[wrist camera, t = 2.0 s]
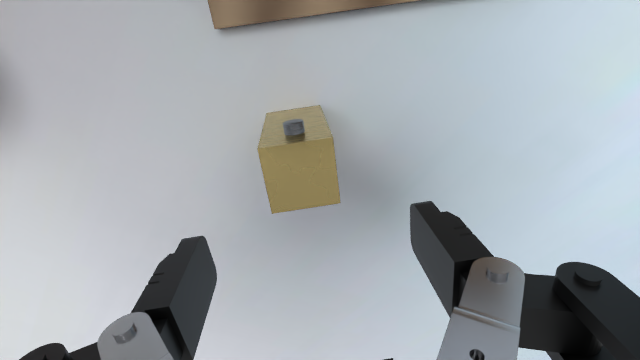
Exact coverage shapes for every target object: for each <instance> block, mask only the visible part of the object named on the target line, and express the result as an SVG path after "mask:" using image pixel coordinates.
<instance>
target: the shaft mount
mask: <svg viewBox="0 0 640 360" xmlns="http://www.w3.org/2000/svg"><path fill="white" fill-rule="evenodd" d="M413 1H420V0H208V4H209V8H210V12H211V16H212V20H213V24H214V29H222V28H229V27H236V26H243V25H250V24H257V23H264V22H271V21H278V20H285V19H292V18H300V17H307V16H314V15H321V14H328V13H335V12H342V11H349V10H356V9H363V8H370V7H378V6H385V5H392V4H399V3H406V2H413Z"/></svg>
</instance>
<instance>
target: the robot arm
mask: <svg viewBox="0 0 640 360" xmlns="http://www.w3.org/2000/svg"><path fill="white" fill-rule="evenodd" d="M410 231H411V244H412V248H413V251H414V253H415V255H416V257H417V259H418V261H419V262H420V264H421V266H422V268H423V270H424V271H425V273H426V275H427V277H428V279H429V280H430V282H431V284H432V286H433V288H434V290H435V291H436V293H437V295H438V297H439V299H440V300H441V302H442V304H443V306H444V308H445V309H446V311H447V313H448V315H449V317H450V321H449V324H448V327H447V330H446V333H445V336H444V339H443V342H442V345H441V348H440V351H439V354H438V357H437V360H517V354H518V347H520V348H527V349H535V350H542V351H546V352H547V354H548V355H549V356H550V358H551V359H552V360H640V297H638V296H637V295H636V294H635V293H634V292H632V291H631V290H630V289H629V288H628V287H626V286H625V285H624V284H623V283H622V282H620V281H619V280H618V279H617V278H615V277H614V276H613V275H612V274H610V273H609V272H607V271H605V270H603V269H601V268H599V267H597V266H594V265H590V264H586V263H581V262H568V263H564V264H561V265H560V266H559V267H558V268H557V270H556V274H555V276H547V275H534V274H525V273H523V271H522V270H521V269H520V267H518V266H517V265H516V264H514V263H512V262H510V261H508V260H506V259H502V258H498V257H494V256H493V255H492V254H491V253H490V252H489V251H488V249H487V248H486V247H485V246H484V245H483V244H482V243H481V242H480V241H479V239H478V238H477V237H476V236H475V235H474V234H472V232H471V230H470V229H469V228H467V227H466V225H465V224H464V223H463V222H462V220H461V219H460V218H459V217H457V216H455V215H453V214H451V213H449V212H440V211H439V209H438V208H437V207H436V206H435V205H434V203H433V202H432V201H427V202H421V203H414V204H411V206H410ZM216 281H217V273H216V267H215V264H214V261H213V258H212V255H211V253H210V250H209V247H208V244H207V241H206V239H205V237H204V236H198V237H191V238H185V239H182V240H181V242H180V244H179V246H178V247H177V249H176V251H175V253H173V254H169V255H168V256H167V257H166V258H165V259H164V260H163V261H161V262H160V263H159V265H158V266H157V268H156V270H155V272H154V273H153V276H152V277H151V279H150V280H149V282H148V285H147V286H146V287H145V289H144V291H143V293H142V294H141V296H140V298H139V300H138V301H137V303H136V305H135V307H134V308H133V310H132V312H131V313H130V314H127V315H125V316H123V317H121V318H119V319H117V320H116V321H114V322H113V323H111V324H110V325H109V326H108V327H107V328H106V329H105V330H104V331H103V332H102V334H101V335H100V337H99V339H98V342H96V343H94V344H91V345H89V346H86V347H84V348H81V349H78V350H76V351H73V352H71V353H68V351H67V350H66V348H65V347H64V345H62V344H60V343H51V344H47V345H44V346H41V347H39V348H37V349H35V350H33V351H31V352H29V353H28V354H26V355H25V356H23V357H22V358H21V359H19V360H193V359H194V356H195V352H196V349H197V346H198V342H199V339H200V336H201V332H202V329H203V326H204V323H205V319H206V316H207V313H208V309H209V306H210V303H211V299H212V296H213V293H214V289H215V286H216ZM384 360H393V358H391V359H384Z"/></svg>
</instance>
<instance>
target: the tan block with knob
mask: <svg viewBox="0 0 640 360" xmlns="http://www.w3.org/2000/svg"><path fill="white" fill-rule="evenodd" d="M257 149H258V153H259V158H260V162H261V167H262V171H263V176H264V180H265V185H266V189H267V194H268V198H269V203H270V207H271V212H272V214H273V213H279V212H286V211H292V210H299V209H305V208H312V207H318V206H325V205H331V204H338V203H340V195H339V186H338V178H337V169H336V160H335V152H334V143H333V137H332V134H331V132H330V129H329V127H328V124H327V122H326V119H325V117H324V114H323V112H322V109H321V107H320V105H318V106H311V107H304V108H298V109H291V110H284V111H277V112H271V113H267V114H266V118H265V122H264V126H263V130H262V133H261V137H260V141H259V145H258V148H257Z"/></svg>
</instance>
